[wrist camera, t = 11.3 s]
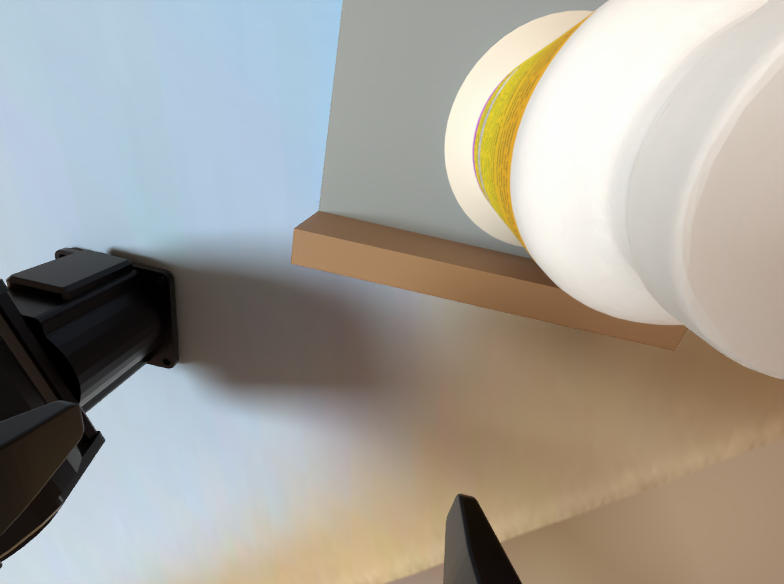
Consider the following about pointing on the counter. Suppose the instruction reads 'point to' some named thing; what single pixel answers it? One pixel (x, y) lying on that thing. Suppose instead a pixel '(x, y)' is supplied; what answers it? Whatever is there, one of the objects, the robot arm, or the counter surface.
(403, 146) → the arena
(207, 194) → the counter surface
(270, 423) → the counter surface
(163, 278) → the robot arm
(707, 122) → the supplement bottle
